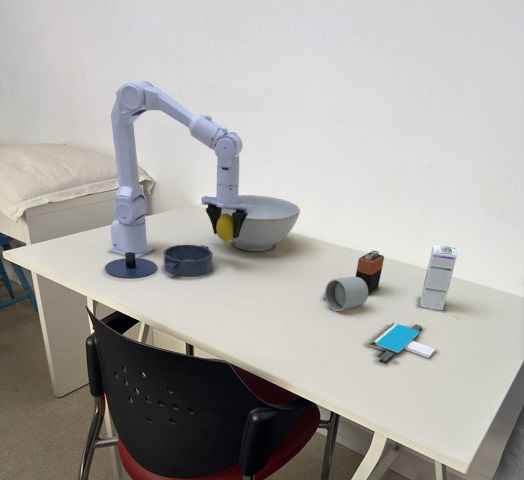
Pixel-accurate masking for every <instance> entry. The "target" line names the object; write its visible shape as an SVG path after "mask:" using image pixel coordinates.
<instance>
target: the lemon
mask: <svg viewBox="0 0 524 480" xmlns="http://www.w3.org/2000/svg"><path fill="white" fill-rule="evenodd" d="M216 231H217V234H216V235H217V236H218V237H219V239H221V240H223V242H224V243H228V242H229V241H232V240H231V239H233V218H232V216H231V215H229V214H228V213H226V214H225V215H222V216H221V217H220V218H219V219H218V221H217V226H216Z"/></svg>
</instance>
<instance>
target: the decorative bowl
mask: <svg viewBox="0 0 524 480" xmlns="http://www.w3.org/2000/svg"><path fill="white" fill-rule="evenodd" d="M238 201H241V202H244V203H247V204H251V205H253V213H251V214H248V215H247V217H246V218H245V220H244V222H243V225H242V227H241V230H240V234H239V237H237V238H233V239H231V240H230V241H232V242H233V244H234V246H235V247H236V248H238V249H241V250H244V251H248V252H249V251H250V252H265V251H268V250H271V249H273V248H274V245H275V244H277V243H279V242H281V241H282V240H283V239H285V238H286V237H287V236H288V235H289V233H290V232H291V231H292V229H294V227H295V225H296V223H297V221H298V219H299V216H300V214H301V209H300V207H299V206H298V205H296V204H295V203H293V202H291V201H288V200H285V199H283V198H282V199H281V198H278V197H273V196H266V195H257V194H255V195H253V194H238ZM234 212H236V210H231V209H226V208H222V211H221V216H222V215H225V214H226V213H228V214H229V215H231V216H232V213H234Z"/></svg>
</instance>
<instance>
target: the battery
mask: <svg viewBox="0 0 524 480" xmlns="http://www.w3.org/2000/svg"><path fill="white" fill-rule="evenodd" d="M379 252H380V251H378V250H371V251H369V252H367V253H365V254H364V255H362V256H360V257H358V260H357V266H356V272H355V277H359V278H361V279H363V280H364V281H365V282H366V284H367V286H368V295H369V294H371V293H372V292H373V291H375V290H377V289H379V285H380V281H381V275H382V270H383V267H384V261H385V255H382V254H380V253H379Z"/></svg>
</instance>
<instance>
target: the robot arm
mask: <svg viewBox="0 0 524 480" xmlns="http://www.w3.org/2000/svg"><path fill="white" fill-rule="evenodd" d="M115 97H116V98H115V101H114V102H113V103H114V104H113V107H112V109H111V112H110V121H111V122H110V123H111V129H112V137H113V139H112V140H113V144H114V145H113V146H114V154H115V163H116V170H117V179H118V189H117V192H116V194H115V197H114V199H115V204H114V206H113V214H114V217H115V219H114V220H113V221H112V223H111V224H110V225H111V226H110V236H111V247H112V248H111V249H110V251H111V252H114V253H115V252H116V253H119V254H124V255H125V253H127V252H133V253H135V258H139V257H140V256H143V255H144V254H146V253H149V252H151V251H153V250H154V248H152V247H148V241H147V240H148V239H147V224H146V215H147V213H148V211H149V208H150V207H149V202H148V200H147V198H146V196H145V190H144V189H143V187H142V186H141V185H140V177H139V166H138V156H137V147H136V146H137V145H136V136H135V126H134V123H135V122H136V121H137V120H138V119H139V118H140V116H141V115H142V114H144V113H146V112H148V111H159V112H162V113H164V114H166V116H168V117H170V118H172V119H174V120H175V121H177V122H179V123H180V124H182V125H183V126H185V127H187V128H188V130H189V133H190V136H191V137H193V138H194V139H195V140H197V141H199V142H200V143H201V144H203V145H204V146H206V147H208V148H209V149H210V150H212V151H213V152H214V154H215V156H216V158H217V160H216V161H217V162H216V163H217V164H216V191H215V192H216V196H208V195H205V196H202V197H201V205H202V206H207V207H206V208H205V212H206V214H207V216H208V218H209V221H210V223H211V227H212V231H213V234H214V235H218V234H217V231H216V226H217V221H218V219H219V218H220V217H221V211H222V208H226V209H231V210H236V212H234V213H232V218H233V238H237V237H239V234H240V230H241V227H242V225H243V222H244V220H245V218H246V217H247V215H248V214H251V213H253V205H251V204H247V203H244V202H241V201H238V195H239V187H240V186H239V185H240V154H241V152H242V150H243V141H242V139H241V137H240V136H239V135H238V134H237V133H236V132H234V131H229V129H228V127H226V126H225V127H222V126H221V125H219V124H218V123H216V122H215V121H213V120H212V119H213V117H212V116H211V115H210V114H206V115H205V114H197V115H196V114H194V113H193V112H191V111H190V110H189V109H187V108H186V107H185V106H183V105H182V104H181V103H179V102H178V101H177V100H175V99H174V98H173V97H171V96H170V95H169V94H168V93H166V92H165V91H163V89H161V88H160V87H158V86H154V84H152V83H151V82H149V81H140V82H126V83H123V85H122V86H121V87H119V88H118V89H117V91H116V92H115Z"/></svg>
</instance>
